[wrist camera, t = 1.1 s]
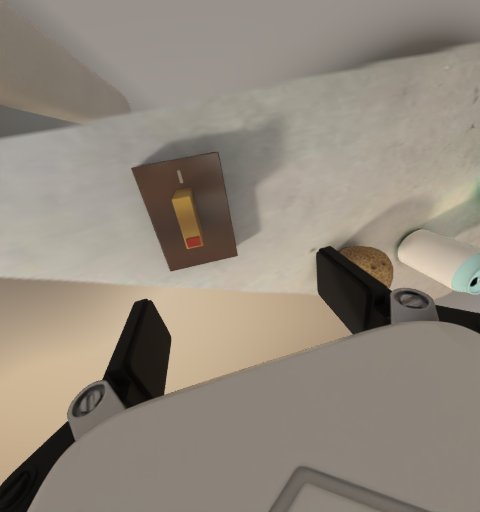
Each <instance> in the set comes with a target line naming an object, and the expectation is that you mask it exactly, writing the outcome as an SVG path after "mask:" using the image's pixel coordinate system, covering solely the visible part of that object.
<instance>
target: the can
mask: <svg viewBox="0 0 480 512" xmlns="http://www.w3.org/2000/svg"><path fill="white" fill-rule="evenodd" d="M398 258H399V260H400V261H401V262H403V263H405V264H406V265H408V266H410V267H412V268H414V269H416V270H418V271H420V272H421V273H423V274H425V275H427V276H429V277H431V278H433V279H434V280H436V281H438V282H440V283H442V284H444V285H446V286H447V287H449V288H451V289H453V290H455V291H458V292H469V293H470V294H480V248H478V247H475V246H472V245H469V244H466V243H463V242H461V241H458V240H455V239H452V238H449V237H446V236H443V235H440V234H437V233H434V232H431V231H428V230H425V229H421V230H417V231H415V232H413V233H411V234H410V235H408V236H407V237H406V238H405V239H404V240H403V241H402V242H401V244H400V246H399V249H398Z"/></svg>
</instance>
